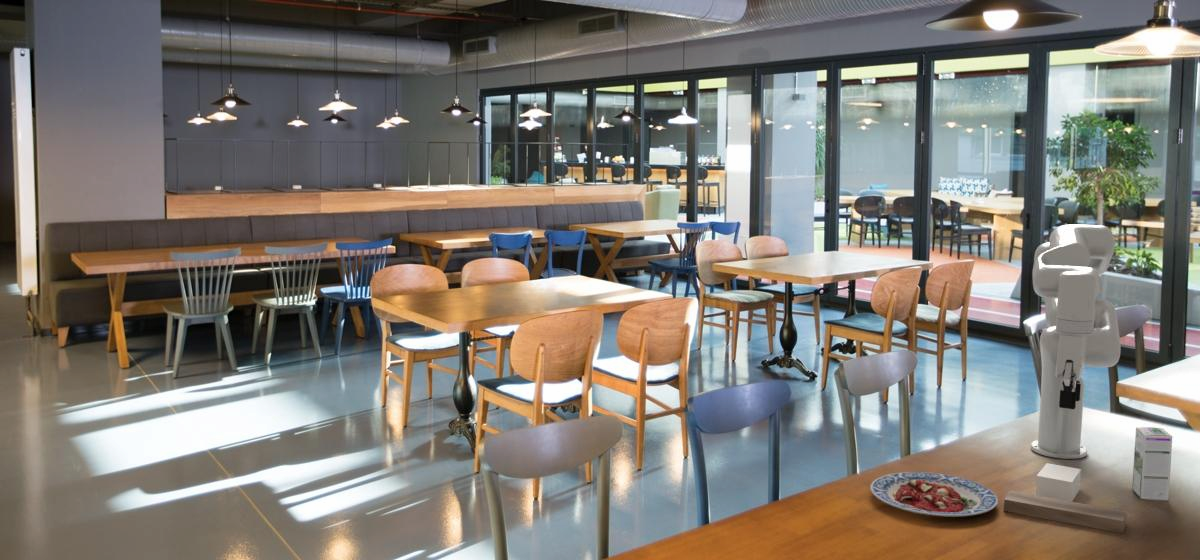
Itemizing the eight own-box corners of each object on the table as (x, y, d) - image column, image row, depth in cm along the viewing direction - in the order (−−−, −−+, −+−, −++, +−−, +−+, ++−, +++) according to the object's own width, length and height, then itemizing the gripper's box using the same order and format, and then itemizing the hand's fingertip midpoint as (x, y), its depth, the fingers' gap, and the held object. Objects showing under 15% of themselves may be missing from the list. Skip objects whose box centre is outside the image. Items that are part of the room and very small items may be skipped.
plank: (1009, 501, 205) (1009, 490, 205) (1125, 523, 193) (1126, 511, 193) (1003, 510, 200) (1004, 499, 200) (1123, 533, 188) (1124, 521, 188)
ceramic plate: (848, 503, 206) (848, 490, 205) (902, 473, 224) (903, 460, 224) (967, 536, 188) (968, 521, 188) (1015, 500, 207) (1016, 487, 206)
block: (1045, 484, 216) (1046, 463, 215) (1079, 490, 212) (1080, 469, 211) (1035, 497, 208) (1036, 475, 207) (1070, 504, 204) (1072, 482, 203)
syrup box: (1169, 501, 205) (1174, 435, 203) (1139, 499, 206) (1144, 434, 204) (1159, 491, 211) (1164, 427, 209) (1130, 489, 212) (1135, 426, 210)
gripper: (1061, 318, 223) (1056, 393, 226) (1050, 331, 209) (1045, 411, 211) (1097, 321, 219) (1092, 397, 222) (1088, 335, 205) (1083, 416, 207)
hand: (1069, 403), depth 216 cm, fingers open, 6 cm apart
